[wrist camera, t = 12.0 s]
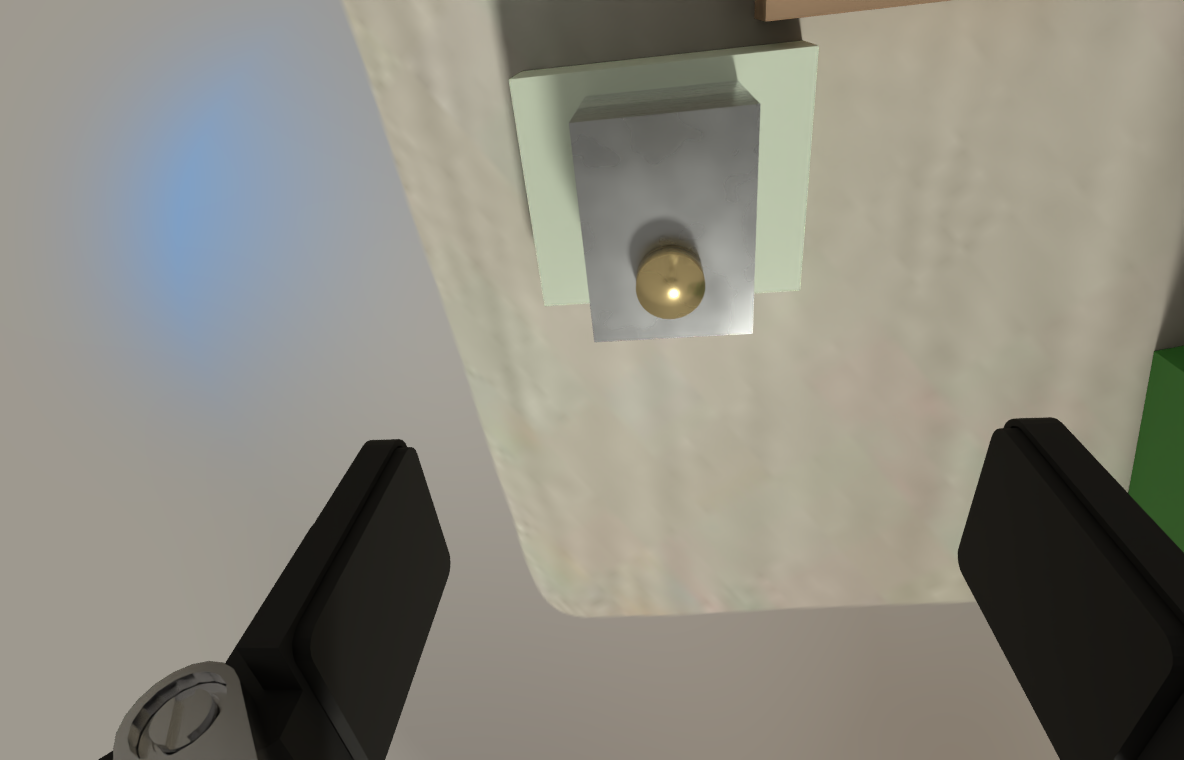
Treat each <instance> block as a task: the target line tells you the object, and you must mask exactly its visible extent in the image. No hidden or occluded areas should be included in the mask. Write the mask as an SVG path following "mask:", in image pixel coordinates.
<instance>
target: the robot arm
mask: <svg viewBox="0 0 1184 760" xmlns="http://www.w3.org/2000/svg"><path fill="white" fill-rule="evenodd" d="M958 563H959V567H960V570H961V572H962V575H963V577H964V578H965V580H966V582H967V584H968V586H969V588H970V590H971V592H972V594H973V595H974V597H975V599H976V601H977V603H978V605H979V607H980V609H981V610H982V612H983V614H984V616H985V618H986V620H987V622H988V624H989V626H990V628H991V629H992V631H993V633H994V635H995V637H996V639H997V641H998V643H999V645H1000V647H1001V649H1002V650H1003V652H1004V654H1005V656H1006V658H1007V660H1008V662H1009V664H1010V665H1011V667H1012V669H1013V671H1014V673H1015V675H1016V677H1017V679H1018V681H1019V683H1020V684H1021V686H1022V688H1023V690H1024V692H1025V694H1026V696H1027V698H1028V699H1029V701H1030V703H1031V705H1032V707H1033V709H1034V711H1035V713H1036V715H1037V717H1038V719H1039V720H1040V722H1041V724H1042V726H1043V728H1044V730H1045V731H1046V734H1047V736H1048V737H1049V739H1050V741H1051V743H1052V745H1053V747H1054V749H1055V751H1056V753H1057V755H1058V756H1059V758H1060V760H1184V552H1183V551H1182V550H1181V549H1180V548H1179V547H1178V546H1177V545H1176V544H1175V543H1174V542H1173V541H1172V540H1171V539H1170V537H1169V536H1168V535H1167V534H1166V533H1165V532H1164V531H1163V530H1162V529H1161V528H1160V527H1159V526H1158V525H1157V524H1156V523H1155V521H1154V520H1153V519H1152V518H1151V517H1150V516H1149V515H1148V514H1147V513H1146V512H1145V511H1144V510H1143V509H1142V508H1141V507H1140V506H1139V504H1138V503H1137V502H1136V501H1135V500H1134V499H1133V498H1132V497H1131V496H1130V495H1129V494H1128V493H1127V492H1126V491H1125V490H1124V488H1123V487H1122V486H1121V485H1120V484H1119V483H1118V482H1117V481H1116V480H1115V479H1114V478H1113V477H1112V476H1111V475H1110V474H1109V473H1108V471H1107V470H1106V469H1105V468H1104V467H1103V466H1102V465H1101V464H1100V463H1099V462H1098V461H1097V460H1096V459H1095V458H1094V457H1093V455H1092V454H1091V453H1090V452H1089V451H1088V450H1087V449H1086V448H1085V447H1084V446H1083V445H1082V444H1081V443H1080V442H1079V441H1078V439H1077V438H1076V437H1075V436H1074V435H1073V434H1072V433H1071V432H1070V431H1069V430H1068V429H1067V428H1066V427H1065V426H1064V425H1063V424H1062V423H1061V422H1060V421H1059V420H1058V419H1055V418H1051V417H1049V418H1019V419H1011V420H1009V421H1008V422H1007V423H1006V424H1005V426H1004V428H1001V429H996V430H995V431H994V433H993V435H992V437H991V441H990V444H989V448H988V451H987V454H986V458H985V461H984V464H983V468H982V471H981V474H980V478H979V481H978V485H977V488H976V491H975V495H974V498H973V501H972V505H971V508H970V511H969V515H968V518H967V522H966V525H965V528H964V532H963V535H962V538H961V542H960V545H959V549H958ZM449 572H450V555H449V552H448V548H447V545H446V542H445V539H444V536H443V533H442V530H441V526H440V524H439V520H438V517H437V514H436V511H435V508H434V505H433V502H432V499H431V495H430V492H429V489H428V486H427V483H426V480H425V477H424V473H423V470H422V468H421V464H420V461H419V458H418V455H417V453H416V450H415V449H414V448H412V447H407V446H406V443H405V442H404V441H403V440H400V439H392V440H370V441H367V442H366V443H365V444H364V446H363V447H362V448H361V450H360V452H359V453H358V455H357V456H356V458H355V459H354V461H353V463H352V464H351V466H350V467H349V469H348V471H347V472H346V474H345V475H344V477H343V479H342V480H341V482H340V483H339V485H338V487H337V488H336V490H335V491H334V493H333V495H332V496H331V498H330V499H329V501H328V502H327V504H326V506H325V507H324V509H323V510H322V512H321V513H320V515H319V517H318V518H317V520H316V522H315V523H314V524H313V526H312V527H311V528H310V530H309V531H308V533H307V534H306V536H305V537H304V539H303V541H302V542H301V544H300V545H299V547H298V549H297V550H296V552H295V553H294V555H293V557H292V558H291V560H290V561H289V563H288V564H287V566H286V568H285V569H284V571H283V572H282V574H281V576H280V577H279V579H278V580H277V582H276V583H275V585H274V587H273V588H272V590H271V592H270V593H269V595H268V596H267V598H266V599H265V601H264V602H263V604H262V606H261V607H260V609H259V610H258V612H257V614H256V615H255V617H254V619H253V620H252V622H251V623H250V625H249V626H248V628H247V629H246V631H245V633H244V634H243V636H242V637H241V639H240V641H239V642H238V644H237V645H236V647H235V649H234V650H233V652H232V653H231V655H230V656H229V658H228V660H227V661H226V663H222V662H213V661H207V662H202V663H196V664H192V665H190V666H187V667H185V668H182V669H180V670H177V671H175V672H173V673H171V674H170V675H168V676H167V677H165V678H164V679H162V680H160V681H159V682H157V683H156V684H155V685H153V686H152V687H151V688H150V689H149V690H148V691H147V692H146V693H145V694H143V695H142V696H141V697H140V698H139V699H138V700H137V701H136V703H135V704H134V705H133V706H132V708H131V709H130V710H129V711H128V713H127V714H126V715H125V717H124V719H123V721H122V723H121V725H120V726H119V729H118V731H117V732H116V736H115V742H114V748H113V751H112V752H110V753H108V754H107V755H105V756H104V757H102V758H100V759H99V760H385V758H386V755H387V753H388V750H389V747H390V744H391V741H392V738H393V735H394V733H395V730H396V727H397V724H398V721H399V718H400V715H401V712H402V709H403V706H404V704H405V701H406V698H407V695H408V691H409V689H410V686H411V683H412V680H413V677H414V675H415V672H416V669H417V665H418V663H419V660H420V657H421V654H422V651H423V648H424V646H425V643H426V640H427V637H428V633H429V631H430V628H431V625H432V622H433V619H434V617H435V614H436V611H437V608H438V605H439V602H440V599H441V596H442V593H443V590H444V587H445V585H446V582H447V579H448V576H449Z"/></svg>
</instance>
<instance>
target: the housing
mask: <svg viewBox="0 0 1184 760" xmlns="http://www.w3.org/2000/svg"><path fill="white" fill-rule="evenodd" d="M569 130H570V138H571V147H572V155H573V164H574V172H575V181H576V189H577V198H578V206H579V215H580V224H581V232H582V241H583V249H584V258H585V266H586V275H587V283H588V292H589V300H590V309H591V317H592V326H593V334H594V342H607V341H626V340H644V339H663V338H681V337H700V336H718V335H736V334H753V309H754V280H755V251H756V222H757V192H758V163H759V134H760V103H759V102H758V101H757V100H756V99H755V98H754V97H753V96H752V95H751V94H750V93H749V92H748V90H747V89H746V88H745V87H744V86H743V85H742V84H741V83H740V82H739V81H738V80H736V81H726V82H717V83H707V84H697V85H688V86H678V87H669V88H659V89H650V90H640V91H630V92H621V93H611V94H602V95H592V96H585V98H584V99H583V101H582V103H581V104H580V106H579V107H578V109H577V111H576V112H575V114H574V115H573V117H572V119H571V120H570V122H569Z"/></svg>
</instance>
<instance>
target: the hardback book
mask: <svg viewBox="0 0 1184 760" xmlns="http://www.w3.org/2000/svg"><path fill="white" fill-rule="evenodd" d="M1128 494H1129V495H1130V496H1131V497H1132V498H1133V499H1134V500H1135V501H1136V502H1137V503H1138V504H1139V506H1140V507H1141V508H1142V509H1143V510H1144V511H1145V512H1146V513H1147V514H1148V515H1149V516H1150V517H1151V518H1152V519H1153V520H1154V521H1155V523H1156V524H1157V525H1158V526H1159V527H1160V528H1161V529H1162V530H1163V531H1164V532H1165V533H1166V534H1167V535H1168V536H1169V537H1170V539H1171V540H1172V541H1173V542H1174V543H1175V544H1176V545H1177V546H1178V547H1179V548H1180V549H1181V550H1182V551H1183V552H1184V346H1179V347H1174V348H1168V349H1163V350H1158V351H1154V355H1153V360H1152V366H1151V371H1150V377H1149V382H1148V388H1147V393H1146V399H1145V404H1144V410H1143V415H1142V421H1141V426H1140V431H1139V437H1138V442H1137V448H1136V453H1135V459H1134V464H1133V470H1132V475H1131V481H1130V486H1129V492H1128Z"/></svg>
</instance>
